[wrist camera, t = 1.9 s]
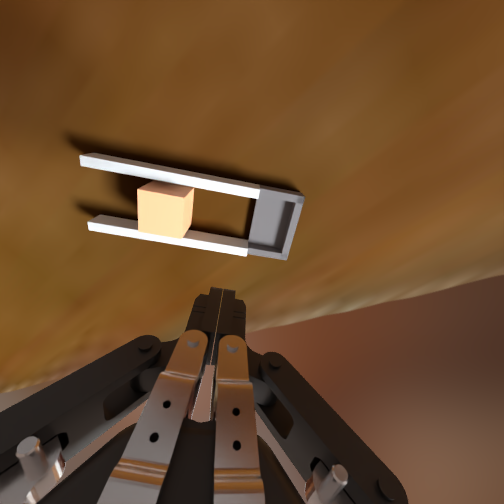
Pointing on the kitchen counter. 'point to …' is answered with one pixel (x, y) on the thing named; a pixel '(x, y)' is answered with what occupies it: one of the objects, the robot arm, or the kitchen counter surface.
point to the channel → (177, 177)
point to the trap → (274, 222)
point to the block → (165, 209)
